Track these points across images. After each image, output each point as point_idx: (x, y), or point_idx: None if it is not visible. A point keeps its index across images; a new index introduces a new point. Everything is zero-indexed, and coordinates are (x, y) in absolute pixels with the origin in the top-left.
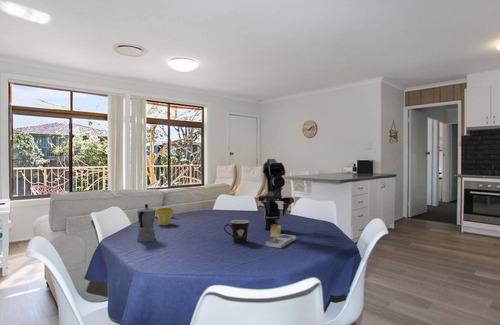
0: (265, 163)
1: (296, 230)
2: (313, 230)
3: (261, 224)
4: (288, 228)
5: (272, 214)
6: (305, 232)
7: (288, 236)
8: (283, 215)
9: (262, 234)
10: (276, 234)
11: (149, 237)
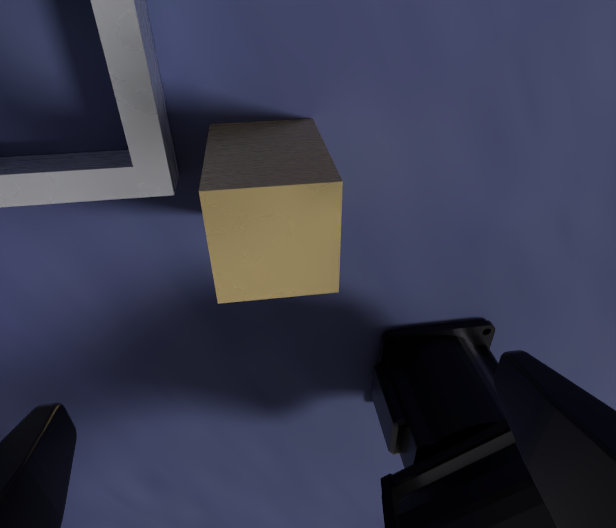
0: None
1: (216, 443)
2: (105, 503)
3: None
4: (308, 450)
5: (471, 493)
6: (112, 440)
7: (39, 166)
8: (29, 417)
9: (447, 154)
10: (221, 138)
11: None
